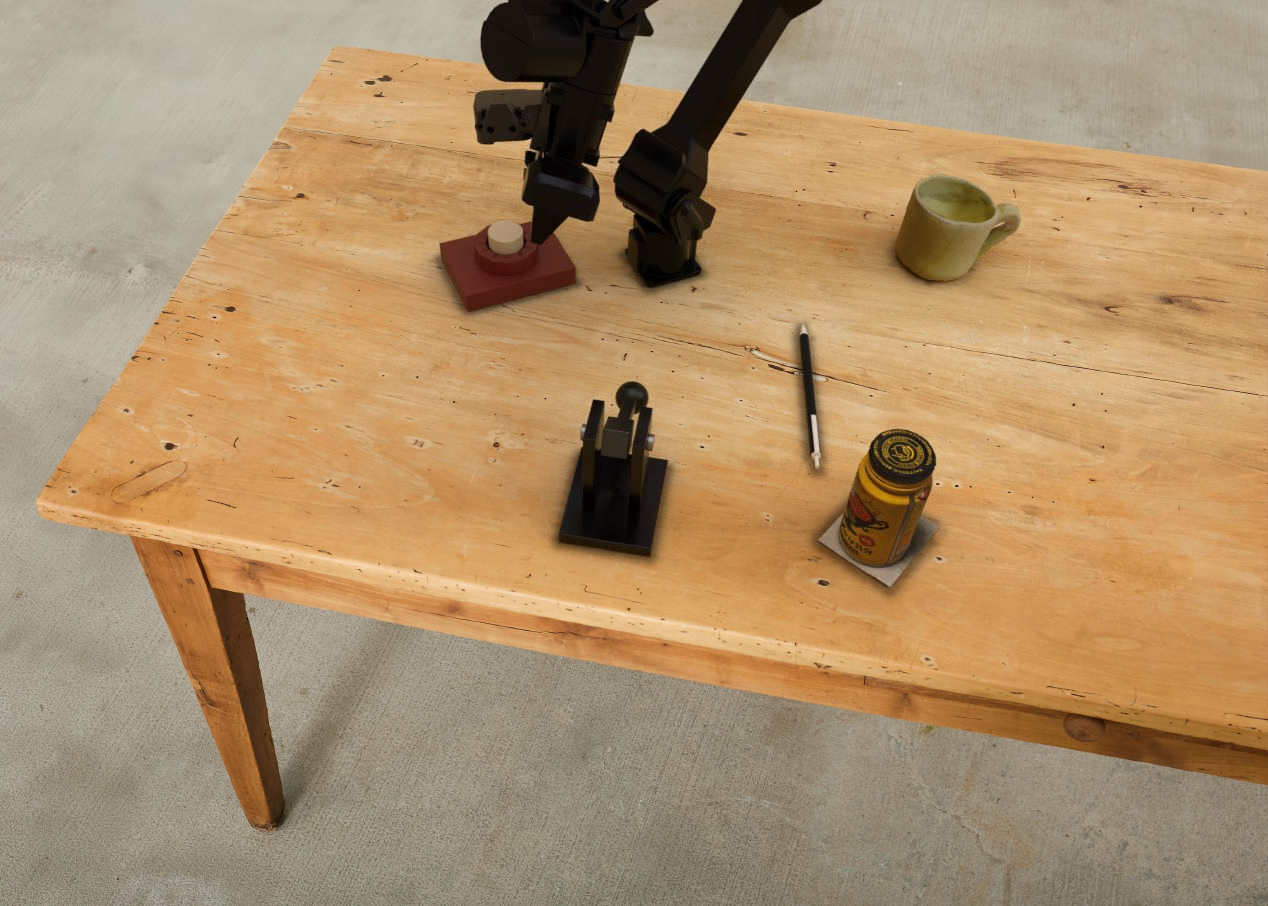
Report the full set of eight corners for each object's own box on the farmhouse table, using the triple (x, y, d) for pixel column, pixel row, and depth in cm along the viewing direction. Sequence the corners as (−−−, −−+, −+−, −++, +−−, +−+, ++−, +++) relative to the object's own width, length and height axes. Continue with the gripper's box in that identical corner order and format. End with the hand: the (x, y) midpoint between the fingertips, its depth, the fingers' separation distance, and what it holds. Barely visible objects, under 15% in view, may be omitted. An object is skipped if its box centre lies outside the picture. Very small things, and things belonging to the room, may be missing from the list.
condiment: (817, 541, 92) (843, 452, 82) (869, 484, 96) (899, 394, 87) (889, 589, 89) (925, 502, 80) (939, 528, 93) (978, 439, 84)
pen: (811, 470, 97) (813, 462, 96) (797, 327, 109) (799, 319, 108) (821, 470, 97) (823, 463, 96) (806, 328, 109) (808, 320, 108)
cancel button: (516, 230, 112) (515, 216, 110) (528, 250, 110) (527, 237, 108) (484, 238, 111) (482, 224, 109) (495, 258, 109) (494, 245, 107)
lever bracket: (581, 454, 97) (581, 372, 89) (667, 467, 96) (675, 385, 88) (558, 542, 90) (556, 462, 82) (650, 557, 90) (658, 477, 82)
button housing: (545, 233, 117) (544, 204, 114) (575, 283, 112) (575, 253, 109) (441, 259, 114) (437, 229, 111) (467, 312, 109) (464, 282, 105)
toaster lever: (616, 404, 97) (619, 374, 95) (648, 409, 96) (652, 379, 95) (595, 458, 86) (598, 424, 85) (631, 463, 86) (635, 430, 84)
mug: (884, 273, 112) (925, 186, 107) (879, 240, 121) (916, 158, 115) (992, 310, 113) (1038, 225, 107) (979, 275, 121) (1021, 194, 116)
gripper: (497, 19, 95) (458, 178, 104) (485, 86, 80) (440, 265, 89) (615, 58, 98) (567, 210, 106) (625, 130, 83) (568, 299, 91)
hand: (535, 242), depth 98 cm, fingers closed
